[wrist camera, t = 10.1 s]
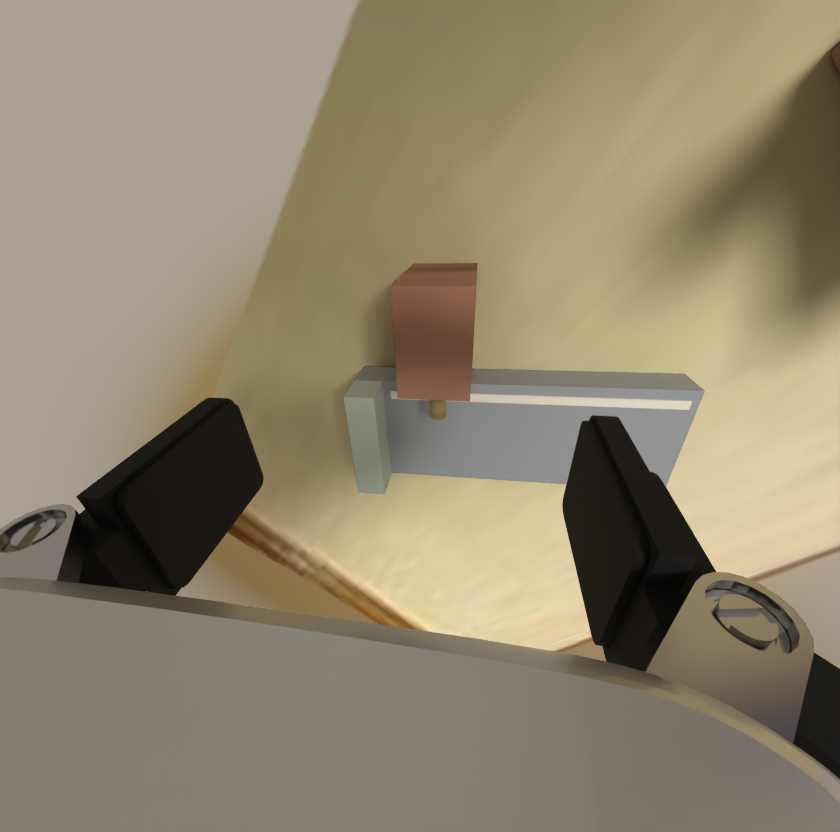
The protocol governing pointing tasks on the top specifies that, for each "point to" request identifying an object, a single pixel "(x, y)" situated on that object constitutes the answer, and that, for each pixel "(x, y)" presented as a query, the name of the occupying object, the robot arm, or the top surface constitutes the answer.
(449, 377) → the brown block
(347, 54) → the top surface
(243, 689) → the robot arm
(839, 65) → the brown forked upright piece
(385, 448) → the grey board
